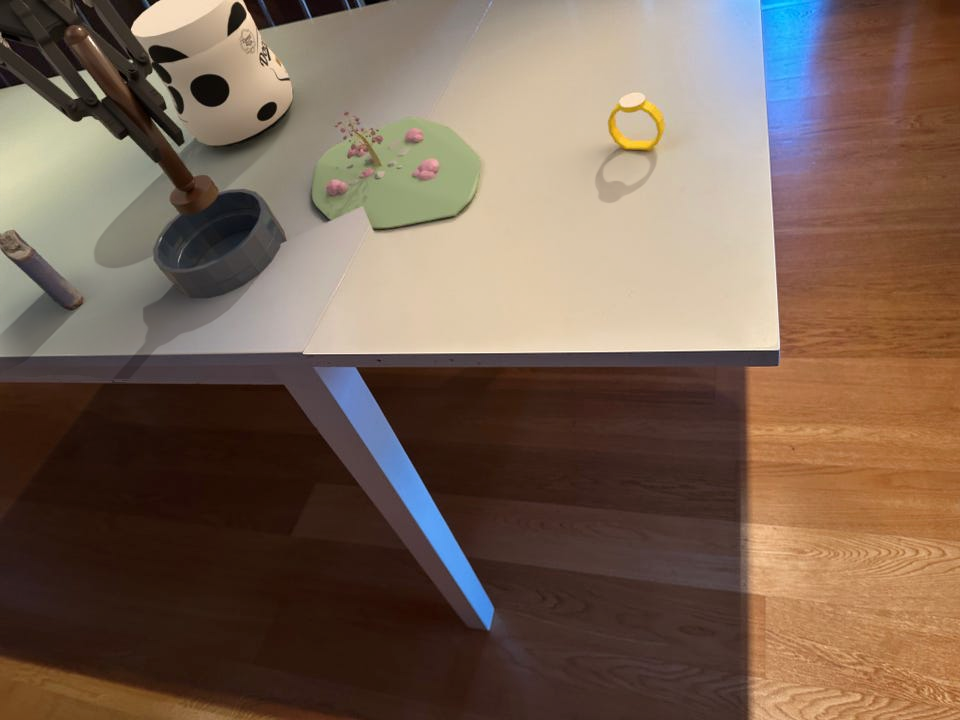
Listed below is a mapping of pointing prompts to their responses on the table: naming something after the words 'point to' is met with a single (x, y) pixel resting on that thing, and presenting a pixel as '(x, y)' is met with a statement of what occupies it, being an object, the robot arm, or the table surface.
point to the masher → (142, 124)
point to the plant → (397, 173)
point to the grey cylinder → (39, 270)
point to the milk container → (215, 68)
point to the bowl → (219, 245)
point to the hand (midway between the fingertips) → (168, 146)
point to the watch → (634, 104)
